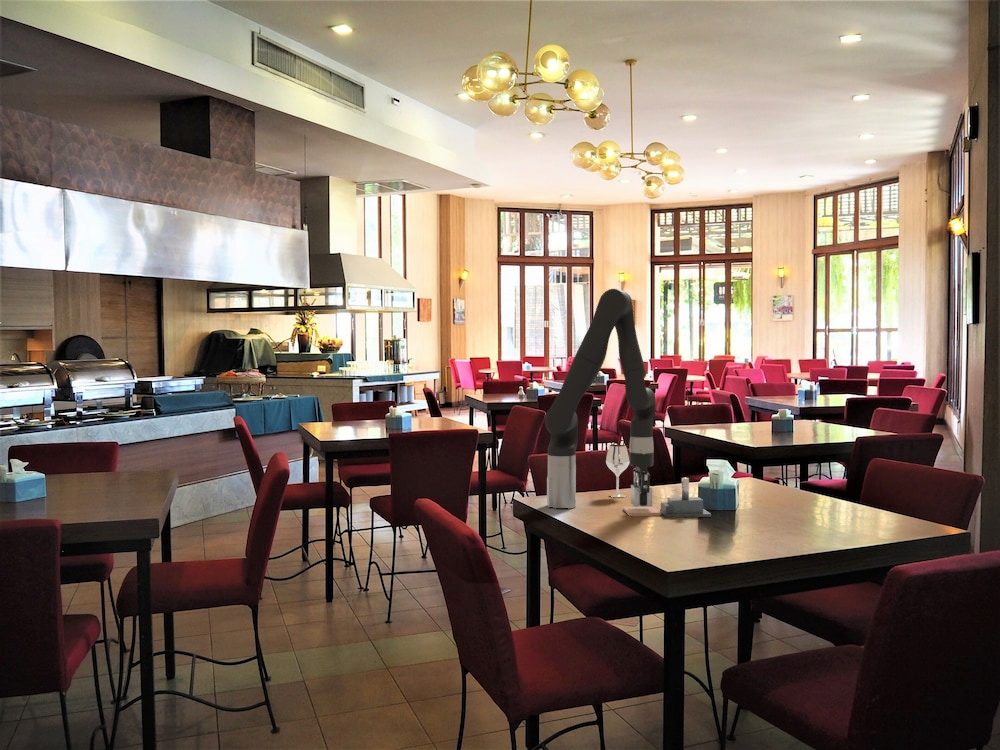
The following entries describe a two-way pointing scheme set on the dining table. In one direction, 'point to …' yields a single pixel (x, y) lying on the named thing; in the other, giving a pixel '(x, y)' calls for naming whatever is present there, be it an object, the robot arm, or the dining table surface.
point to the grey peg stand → (684, 505)
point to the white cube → (636, 496)
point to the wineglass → (617, 462)
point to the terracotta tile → (642, 511)
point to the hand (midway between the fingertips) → (641, 503)
